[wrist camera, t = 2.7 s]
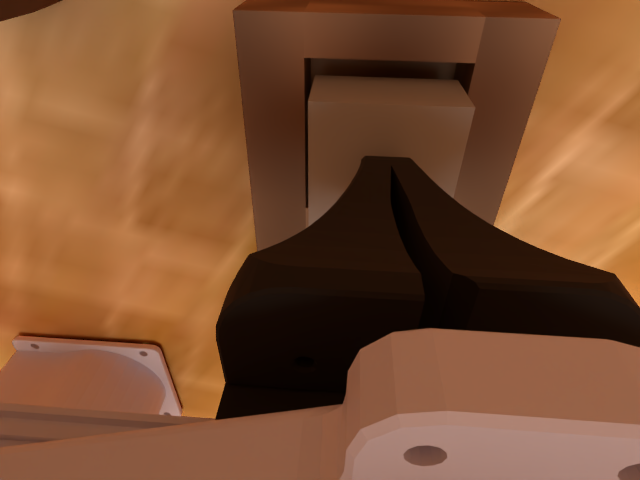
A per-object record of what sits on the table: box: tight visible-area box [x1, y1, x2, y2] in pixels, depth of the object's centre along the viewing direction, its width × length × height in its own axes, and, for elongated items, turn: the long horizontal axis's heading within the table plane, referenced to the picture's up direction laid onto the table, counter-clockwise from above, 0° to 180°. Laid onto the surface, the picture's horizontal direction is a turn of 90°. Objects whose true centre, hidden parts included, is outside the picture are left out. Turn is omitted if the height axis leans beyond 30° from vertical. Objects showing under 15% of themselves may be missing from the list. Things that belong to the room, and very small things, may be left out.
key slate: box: [308, 75, 475, 226], centre depth 13 cm, size 4×4×2 cm
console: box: [233, 0, 561, 251], centre depth 21 cm, size 9×26×3 cm, turn 179°
